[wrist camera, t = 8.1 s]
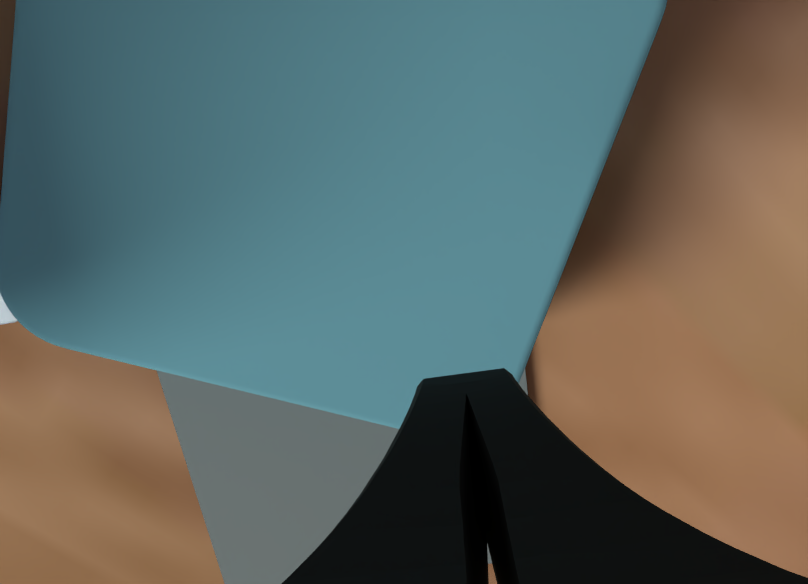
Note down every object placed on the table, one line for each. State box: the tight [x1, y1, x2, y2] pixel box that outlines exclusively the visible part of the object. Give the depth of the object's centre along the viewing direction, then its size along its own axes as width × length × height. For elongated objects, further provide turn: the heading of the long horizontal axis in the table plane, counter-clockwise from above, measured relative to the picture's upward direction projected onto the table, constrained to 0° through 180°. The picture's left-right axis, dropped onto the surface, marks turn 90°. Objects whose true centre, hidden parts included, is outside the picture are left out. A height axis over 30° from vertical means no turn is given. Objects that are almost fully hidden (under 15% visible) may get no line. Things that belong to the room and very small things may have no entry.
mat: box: [157, 369, 528, 584], centre depth 21 cm, size 11×24×1 cm, turn 9°
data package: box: [0, 0, 667, 429], centre depth 18 cm, size 12×4×12 cm
